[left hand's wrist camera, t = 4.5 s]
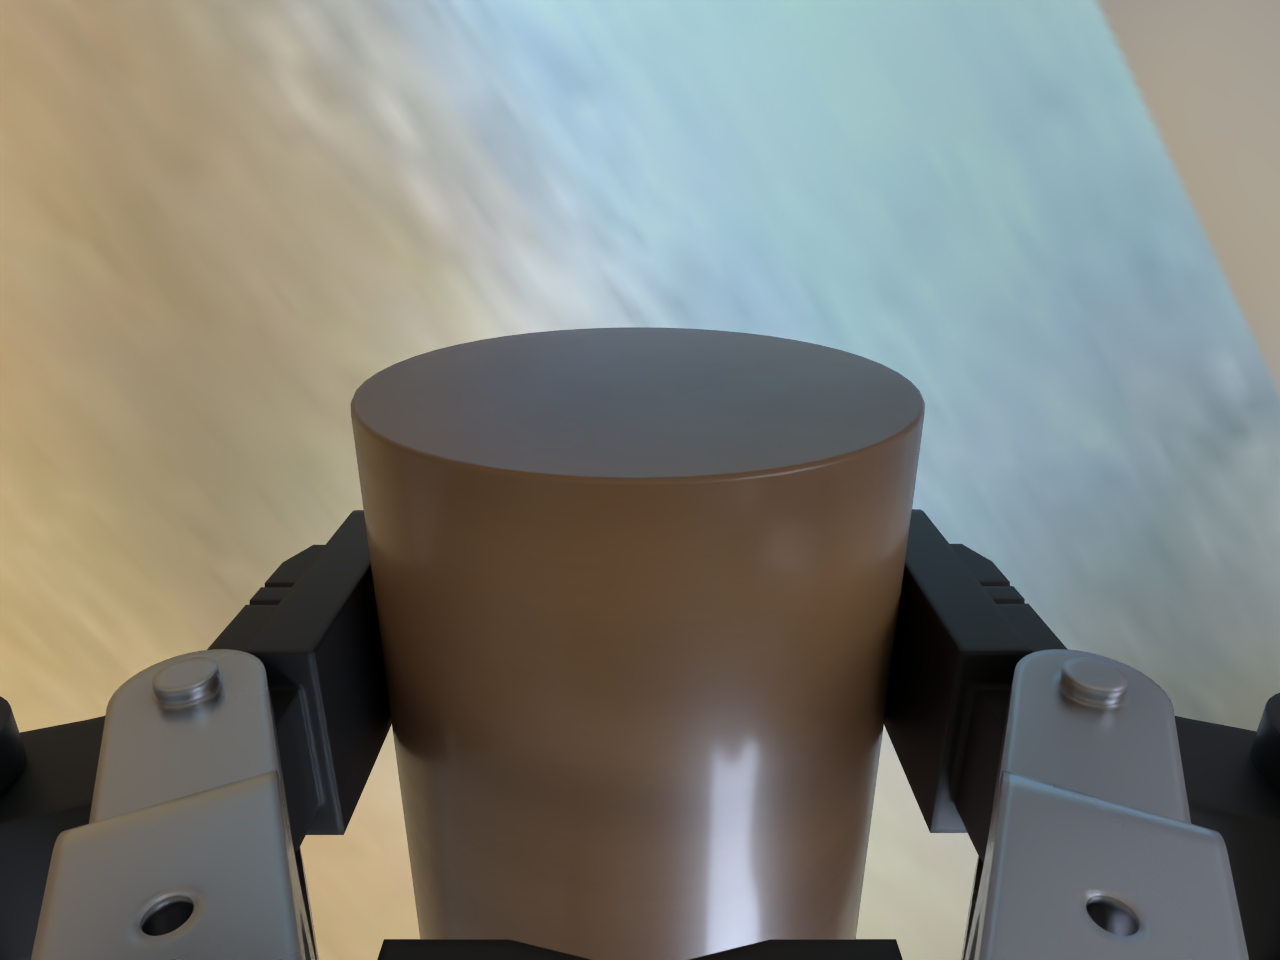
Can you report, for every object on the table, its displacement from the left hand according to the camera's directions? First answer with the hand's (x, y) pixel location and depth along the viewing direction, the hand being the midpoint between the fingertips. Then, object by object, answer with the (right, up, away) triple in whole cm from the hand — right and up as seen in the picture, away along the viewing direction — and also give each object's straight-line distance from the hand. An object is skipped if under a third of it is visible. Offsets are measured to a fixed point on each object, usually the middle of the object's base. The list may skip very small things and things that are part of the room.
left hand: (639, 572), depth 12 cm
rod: (0, -8, +5) cm, 9 cm away
